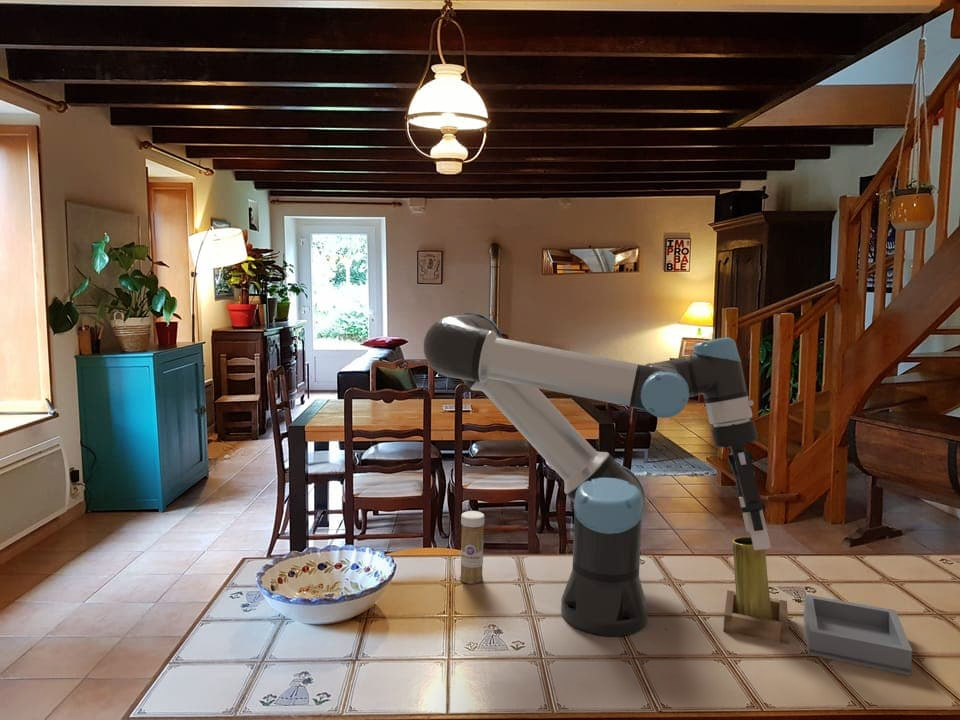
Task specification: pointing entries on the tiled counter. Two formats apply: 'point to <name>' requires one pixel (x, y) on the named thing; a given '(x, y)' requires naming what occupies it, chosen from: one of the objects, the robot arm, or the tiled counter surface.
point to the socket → (757, 621)
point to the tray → (856, 634)
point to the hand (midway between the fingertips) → (758, 539)
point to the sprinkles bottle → (472, 547)
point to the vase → (751, 580)
